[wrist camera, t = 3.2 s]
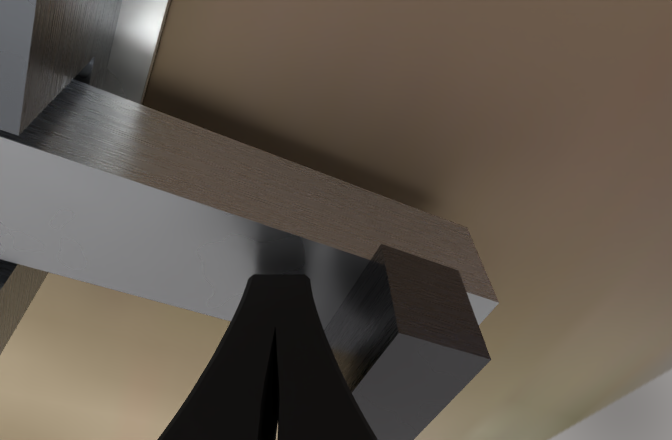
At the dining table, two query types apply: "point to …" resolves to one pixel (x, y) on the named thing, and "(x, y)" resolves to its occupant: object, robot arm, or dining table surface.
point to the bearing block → (66, 82)
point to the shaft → (248, 243)
